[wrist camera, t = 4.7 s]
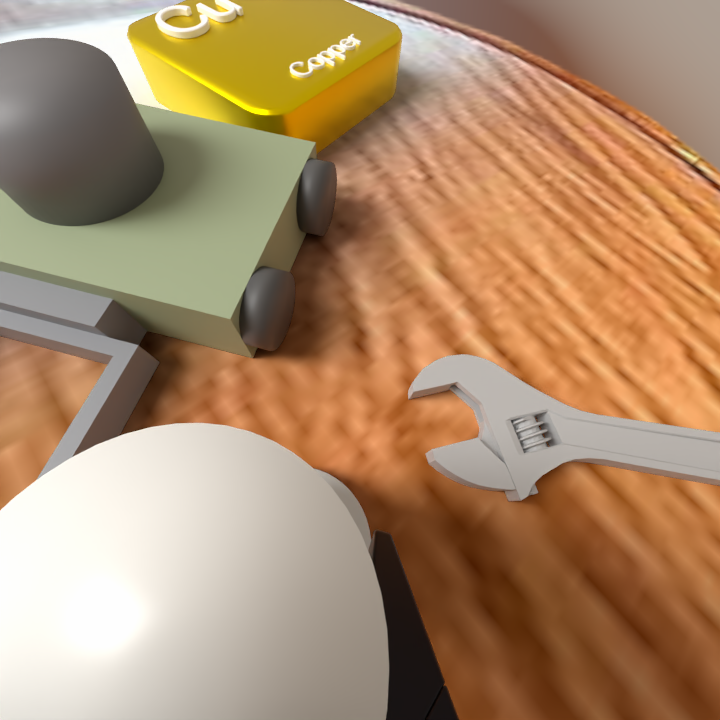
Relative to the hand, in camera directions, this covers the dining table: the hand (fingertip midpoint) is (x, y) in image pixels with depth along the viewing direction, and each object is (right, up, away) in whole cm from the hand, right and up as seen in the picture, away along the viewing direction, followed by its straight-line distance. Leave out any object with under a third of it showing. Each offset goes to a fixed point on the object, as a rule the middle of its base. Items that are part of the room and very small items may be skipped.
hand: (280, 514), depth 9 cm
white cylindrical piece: (-1, -4, +5) cm, 7 cm away
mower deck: (-13, +6, +9) cm, 18 cm away
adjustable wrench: (+17, -1, +8) cm, 19 cm away
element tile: (-5, +26, +19) cm, 33 cm away
